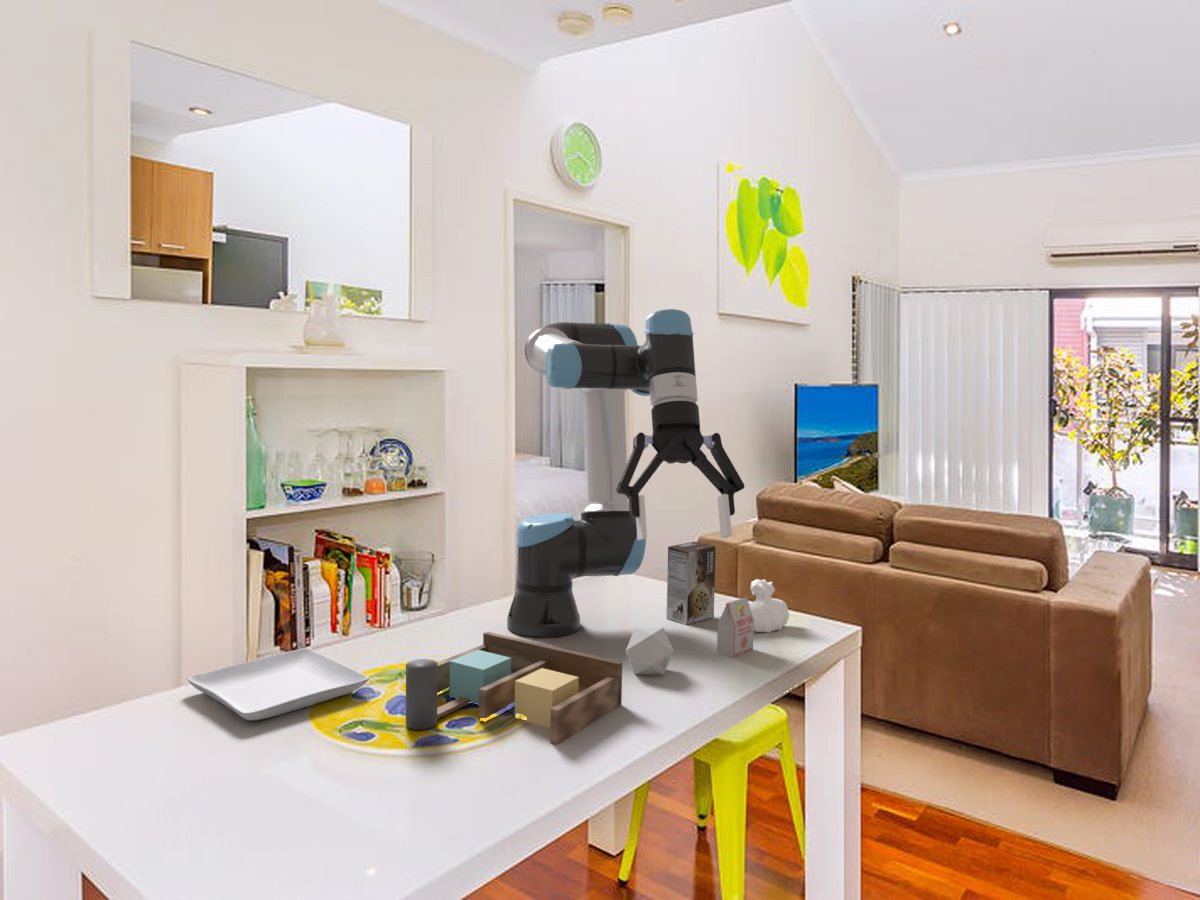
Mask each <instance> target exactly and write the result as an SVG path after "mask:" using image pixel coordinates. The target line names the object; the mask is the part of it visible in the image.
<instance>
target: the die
mask: <svg viewBox="0 0 1200 900" xmlns="http://www.w3.org/2000/svg"><path fill="white" fill-rule="evenodd" d="M674 652H675V649H674V648H673V646H672V644H671V642H670V640H669V637H668V635H667V633H666V631H665V629H664V627H643V626H642V627H638V626H636V627H634V630H633V632H632V634H631V637H630V639H629V642H628V644H627V647H626V649H625V653H626V656H627V658H628V660H629V661H628V662H629V663H630V665H631V668H632V671H633V673H634V675H635V676H636V675H638V676H640V675H641V676H643V675H644V676H646V675H647V676H648V675H649V676H651V675H652V676H665V673H666V670H667V668H668V665H669V663H670V661H671V659H672V656H673V653H674Z"/></svg>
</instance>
